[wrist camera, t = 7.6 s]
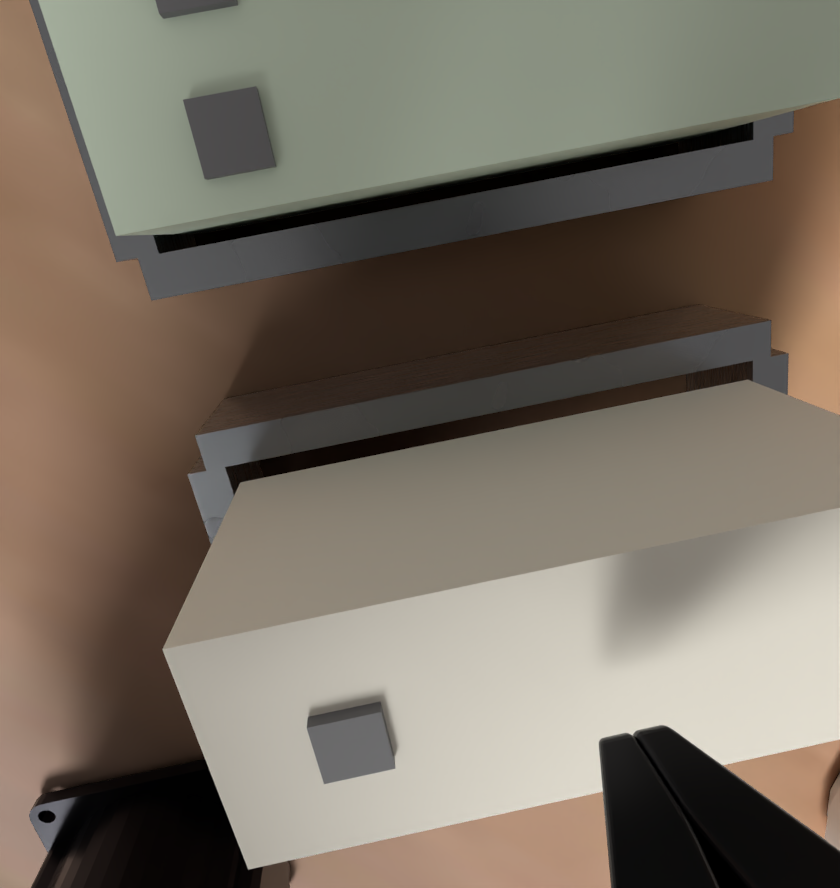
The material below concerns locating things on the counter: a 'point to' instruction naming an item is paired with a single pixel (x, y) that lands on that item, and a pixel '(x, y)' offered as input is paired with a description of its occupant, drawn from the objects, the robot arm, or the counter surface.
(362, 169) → the sage key
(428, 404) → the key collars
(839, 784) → the supplement can
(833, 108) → the counter surface
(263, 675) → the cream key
